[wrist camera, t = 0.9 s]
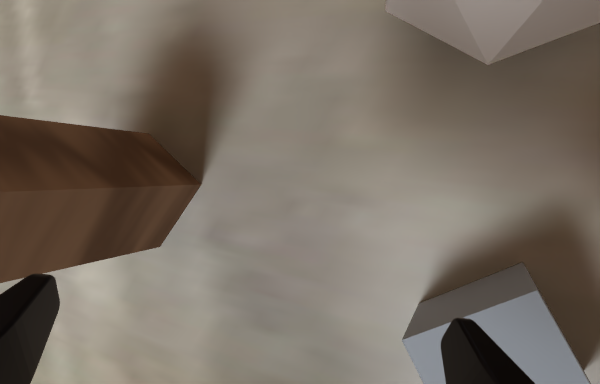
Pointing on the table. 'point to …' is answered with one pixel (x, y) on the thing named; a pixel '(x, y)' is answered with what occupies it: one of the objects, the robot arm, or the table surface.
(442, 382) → the slate cube
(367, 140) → the table surface
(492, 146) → the table surface
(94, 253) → the walnut block
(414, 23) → the die
